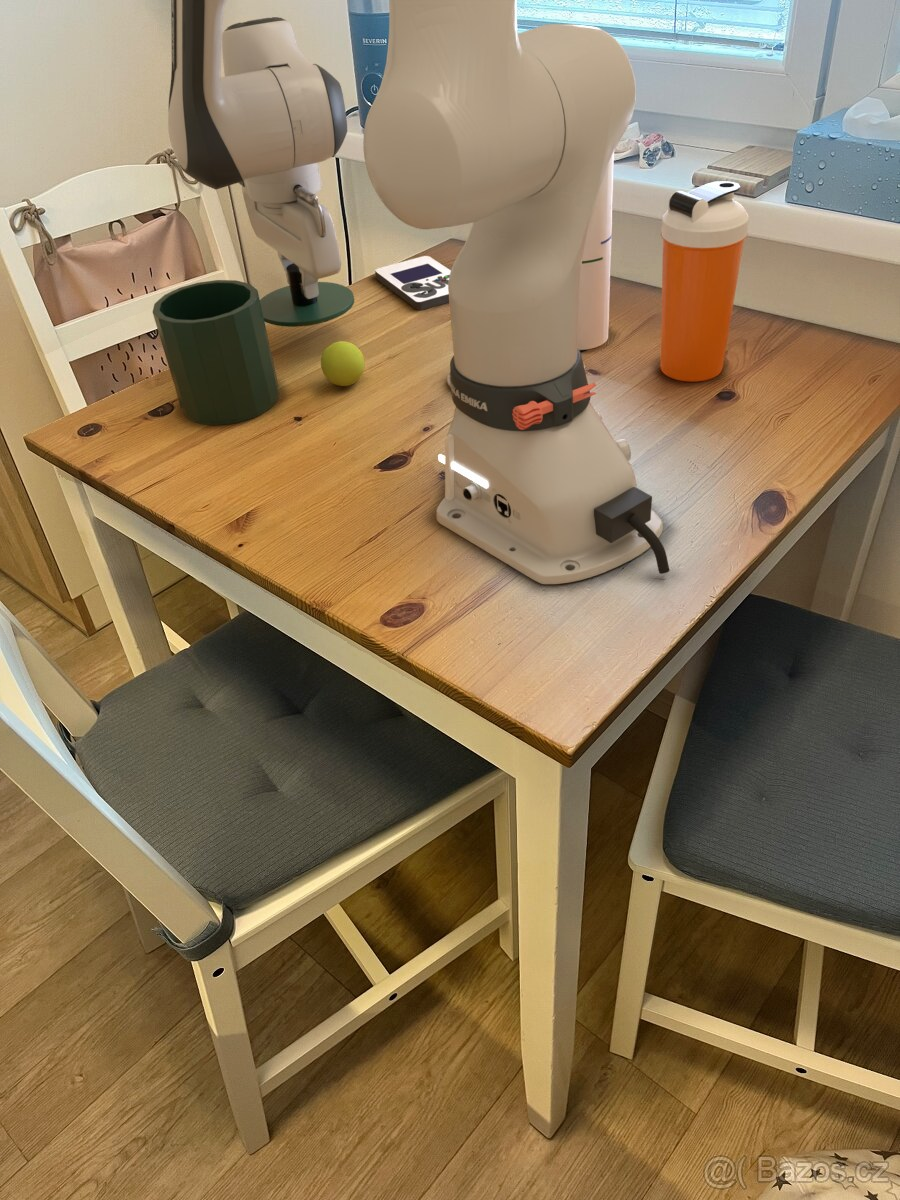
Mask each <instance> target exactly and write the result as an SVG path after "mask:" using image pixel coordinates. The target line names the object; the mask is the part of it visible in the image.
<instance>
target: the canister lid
mask: <svg viewBox="0 0 900 1200" xmlns="http://www.w3.org/2000/svg"><path fill="white" fill-rule="evenodd" d="M286 270H287V276H288V281H289V284H288V285H286V286H284V287H283V286H282V287H280V288H277V289H275V290H272V291H271V292H269V293H267V294H266V295H263V297H262V298H260V304H261V308H262V313H263V317H264V322H265V324H269V325H272V326H277V327H287V328H294V327H295V328H297V327H307V326H308V327H309V326H315V325H320V324H323V323H326V322H329V321H333V320H334V319H337V318H339V317H341V316H343V315H344V314H346V313H347V312H349V311H350V310H351V309H352V307H353V306H354V303H355V295H354V292H353V290H351V289H350V288H349V287H347V286H345V285H343V284H339V283H335V282H328V281H326V282H325V281H318V282H317V284H318V290H319V295H318V296H317V297H314V298H311V299H308V298H306V297H305V296H304V295H303V294H302V293H301V287H300V282H302V273H300V271H299V267H298V266H297V265H295V264H294V263H293V264H290V265H289V266H287V268H286Z"/></svg>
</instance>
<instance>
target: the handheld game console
mask: <svg viewBox="0 0 900 1200" xmlns="http://www.w3.org/2000/svg"><path fill="white" fill-rule="evenodd" d="M374 272H375V273H374V274H375V279H376V280H377V281H378V282H380V283H381V284H382V285H383V286H385V287H386V288H387V289H389V290H390V291H391V292H393V293H394V294H395V295H397V296H398V297H399V298H401V299H402V300H404V301H405V302H406V303H407V304H409V305H410V306H411V307H413V308H414V309H415V310H417V311H424V310H427V309H431V308H434V307H437V306H440V305H444V304H449V291H448V283H449V277H450V272H451V269H450V268H448V267H446V266H445V265H443V264H441V263H440V262H439V261H437V260H436V259H434V258H433V257H431V256H429V255H422V256H418V257H416V258H411V259H407V260H403V261H400V262H397V263H392V264H389V265H385V266H382V267H378V268H376V269H374Z"/></svg>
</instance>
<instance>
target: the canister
mask: <svg viewBox="0 0 900 1200" xmlns="http://www.w3.org/2000/svg"><path fill="white" fill-rule="evenodd" d="M260 300H261V298H260V295H259V291H258V289H257V288H256V287H254V286H253V284H251V283H248V282H244V281H242V280H241V281H240V280H236V279H234V280H233V279H216V280H215V279H213V280H208V281H207V280H206V281H199V282H194V283H191V284H188V285H185V286H181V287H179V288H176V289H174V290H172V291H170V292H168V293H165V294H163V296H161V297H160V298H159V299H158V300H157V301H156V302H155V303H154V304H153V309H152V315H153V318H154V323H155V325H156V329H157V332H158V336H159V339H160V342H161V346H162V348H163V352H164V356H165V359H166V362H167V365H168V366H167V367H168V369H169V373H170V375H171V380H172V382H173V386H174V389H175V392H176V396H177V399H178V402H179V405H180V409H181V410H182V412H183V414H184V416H185V417H186V418H187V419H188V420H190V421H192V422H193V423H197V424H201V425H206V426H225V425H234V424H238V423H242V422H246V421H249V420H252V419H255V418H256V417H258V416H261V415H263V414H265V413H266V412H268V411H269V410H270V409H272V408H273V406H274V405H275V404H276V403H277V402H278V401H279V397H280V390H279V382H278V378H277V372H276V367H275V364H274V363H275V362H274V359H273V354H272V350H271V345H270V341H269V337H268V332H267V328H266V327H267V326H266V322H264V317H263V313H262V308H261V304H260Z"/></svg>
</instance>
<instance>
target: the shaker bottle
mask: <svg viewBox="0 0 900 1200" xmlns="http://www.w3.org/2000/svg"><path fill="white" fill-rule="evenodd" d="M740 189H741V185H740V184H739V183H738V182H734V181H729V180H727V181H725V180H724V181H723V180H722V181H721V180H719V181H712V182H708V183H706V184H704V185H703V184H702V185H700V186H699V187H696V188H695V189H692V190H690V191H688V192H684V191H681V190H676V191H674V192H673V193H672V194H671V195H670V197H669V199H668V206H667V207H668V208H667V209H666V212H664V214H662V217H661V218H662V219H661V231H660V237H661V238H662V271H661V272H662V273H661V274H662V275H661V281H662V282H661V283H662V284H661V323H660V324H661V326H660V370H661V373H663V374H664V375H665V376H666V377H668V378H670V379H673V380H676V381H681V382H689V383H690V382H691V383H692V382H693V383H695V382H696V383H697V382H704V381H709V380H712V379H714V378H716V377H717V376H719V375H720V374H721V373H722V371H723V367H724V361H725V356H726V350H727V344H728V339H729V332H730V326H731V321H732V316H733V315H732V313H733V308H734V302H735V296H736V291H737V284H738V279H739V273H740V267H741V261H742V254H743V248H744V243H745V239H746V238H747V237H748V229H749V222H750V220H749V219H750V215H749V214H748V212H747V209H746V208H745V207H744V205H742V203H740V202H738V201H737V200H736V199H734V195H735V193H736V192H739V191H740Z"/></svg>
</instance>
